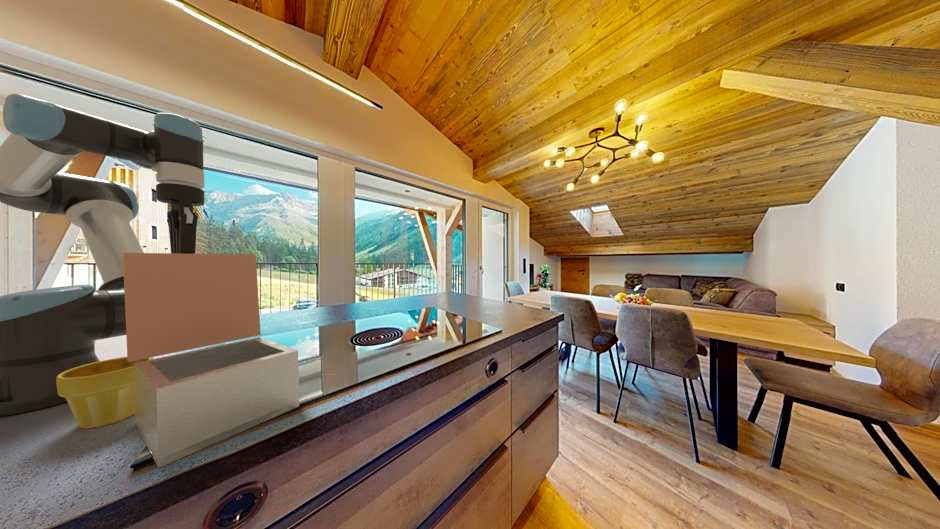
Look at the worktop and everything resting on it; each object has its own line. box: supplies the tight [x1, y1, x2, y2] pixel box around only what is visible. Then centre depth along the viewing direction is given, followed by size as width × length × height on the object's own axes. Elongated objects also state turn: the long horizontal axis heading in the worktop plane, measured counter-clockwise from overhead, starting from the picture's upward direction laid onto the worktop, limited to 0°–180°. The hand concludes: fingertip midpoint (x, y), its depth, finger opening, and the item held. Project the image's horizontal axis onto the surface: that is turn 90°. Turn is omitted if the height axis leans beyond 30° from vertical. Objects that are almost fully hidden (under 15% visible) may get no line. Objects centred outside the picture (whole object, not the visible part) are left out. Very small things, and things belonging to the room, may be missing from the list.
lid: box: [123, 252, 261, 362], centre depth 55 cm, size 19×19×4 cm
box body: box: [134, 336, 300, 469], centre depth 49 cm, size 18×18×11 cm
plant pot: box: [56, 356, 154, 430], centre depth 48 cm, size 10×10×10 cm
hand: (184, 288), depth 61 cm, fingers closed
